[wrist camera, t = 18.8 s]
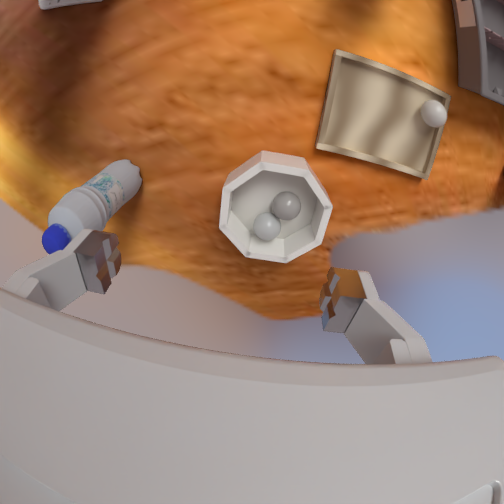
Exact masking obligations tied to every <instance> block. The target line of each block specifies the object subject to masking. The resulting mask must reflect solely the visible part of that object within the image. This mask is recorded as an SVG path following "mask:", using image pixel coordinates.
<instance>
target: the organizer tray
mask: <svg viewBox="0 0 504 504" xmlns="http://www.w3.org/2000/svg"><path fill="white" fill-rule="evenodd" d="M452 4H453V10H454V17H455V25H456V34H457V46H458V72H459V82H458V86H459V87H462V88H464V89H467V90H470V91H473V92H475V93H478V94H480V95H482V96H483V97H486V98H488V99H490V100H493V101H495V102H497V103H499V104H502V105H504V0H452Z"/></svg>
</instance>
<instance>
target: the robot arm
mask: <svg viewBox="0 0 504 504" xmlns="http://www.w3.org/2000/svg"><path fill="white" fill-rule="evenodd" d="M100 1H102V0H39V6H40V8H41V9H43V10H47V9H51V8H57V7H62V6H68V5H75V4H82V3H91V2H100ZM118 244H119V241H118V236H117V235H116V234H114V233H108V232H103V231H97V230H92V229H82V230H81V231H80V232H79V233H78V235H77V236H76V237H75V238H74V239H73V240H72V241H71V242H70V243H69V244H68V245H67V246H66V247H65V248H64V249H63V250H58V251H56V252H54V253H52V254H50V255H48V256H45V257H43V258H41V259H39V260H37V261H35V262H33V263H30V264H28V265H26V266H24V267H22V268H20V269H18V270H16V271H15V272H14V274H13V275H12V276H11V277H10V278H9V279H8V281H7V282H6V283H5V284H4V285H3V287H2V288H0V504H504V361H503V360H502V359H500V358H499V357H497V356H487V357H480V358H473V359H464V360H455V361H445V362H432V359H431V356H430V353H429V351H428V348H427V345H426V343H425V340H424V338H423V337H422V336H420V334H418V333H417V332H416V331H415V330H414V329H413V328H412V327H411V326H410V325H409V324H408V323H407V322H406V321H405V320H403V319H402V318H401V317H400V316H399V315H398V314H397V313H396V312H395V311H394V310H393V309H392V308H390V307H389V306H388V305H387V304H386V303H385V302H384V301H380V299H379V297H378V294H377V291H376V289H375V286H374V284H373V282H372V278H371V276H370V273H369V272H367V271H358V270H347V269H341V268H334V267H331V268H330V269H329V271H328V274H327V279H328V281H327V282H326V283H325V284H323V286H322V289H321V292H320V298H319V304H320V309H321V310H322V311H323V312H324V313H323V315H322V317H321V318H322V325H323V331H328V332H337V333H344V335H345V336H346V338H347V339H348V340H349V342H350V343H351V344H352V346H353V347H354V348H355V350H356V351H357V353H358V354H359V355H360V357H361V358H362V359H363V361H364V362H365V364H336V363H317V362H303V361H290V360H280V359H271V358H262V357H254V356H246V355H239V354H232V353H226V352H219V351H213V350H207V349H202V348H196V347H190V346H186V345H180V344H176V343H171V342H166V341H162V340H157V339H153V338H149V337H144V336H140V335H136V334H132V333H128V332H125V331H121V330H117V329H114V328H110V327H107V326H103V325H100V324H96V323H93V322H90V321H86V320H83V319H80V318H77V317H74V316H71V315H68V314H65V313H62V312H60V310H62V309H63V308H65V307H66V306H67V305H69V304H70V303H71V302H73V301H74V300H75V299H77V298H78V297H80V296H81V295H83V294H84V293H85V292H87V291H91V292H96V293H100V294H105V292H106V291H107V289H108V288H109V286H110V285H111V278H112V277H114V276H116V275H117V273H118V272H119V270H120V266H121V253H120V252H119V250H118V249H117V248H116V247H117V245H118Z"/></svg>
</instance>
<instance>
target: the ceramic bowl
mask: <svg viewBox="0 0 504 504" xmlns="http://www.w3.org/2000/svg"><path fill="white" fill-rule="evenodd" d="M284 191H289V192H292V193H294V194H296V195H297V196H298V198H299V199H300V202H301V210H300V213H299V214H298V216H297V217H296V218H294V219H292V220H281V219H279V220H280V222H281V231H280V233H279V235H278V236H277V237H276V238H274V239H272V240H262V239H260V238H259V237H257V236H256V234H255V232H254V230H253V223H254V220H255V219H256V217H257V216H258V215H260V214H261V213H265V212H270V213H273V210H272V201H273V199H274V197H275V196H276V195H277V194H279V193H280V192H284ZM332 208H333V206H332V203H331V201H330V199H329V197H328V194H327V192H326V190H325V188H324V187H323V185H322V184H321V182H320V181H319V179H318V178H317V176H316V175H315V173H314V172H313V170H312V169H311V167H310V166H309V164H308V163H307V161H306V160H305V158H302V157H297V156H292V155H286V154H281V153H275V152H269V151H263V150H262V151H261V152H259V153H258V154H256V155H255V156H253V157H252V158H251V159H249V160H248V161H246V162H245V163H243V164H242V165H241V166H239V167H238V168H236V169H235V170H234V171H232V172H231V173H229V175H228V177H227V179H226V182H225V184H224V186H223V190H222V201H221V211H220V222H219V229H220V230H221V231H222V232H223V233H224V234H225V235H226V236H227V237H228V238H229V239H230V241H231V242H232V243H233V244H234V245H235V246H236V247H237V248H238V249H239V250H240V252H241V253H242V254H243V255H244V256H245V257H248V258H255V259H262V260H268V261H275V262H281V263H287V262H289V261H291V260H293V259H295V258H296V257H298V256H300V255H302V254H304V253H306V252H307V251H309V250H311V249H313V248H315V247H317V246H318V245H320V244H321V243H322V240H323V237H324V234H325V230H326V227H327V224H328V221H329V218H330V214H331V211H332ZM273 214H274V213H273Z"/></svg>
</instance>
